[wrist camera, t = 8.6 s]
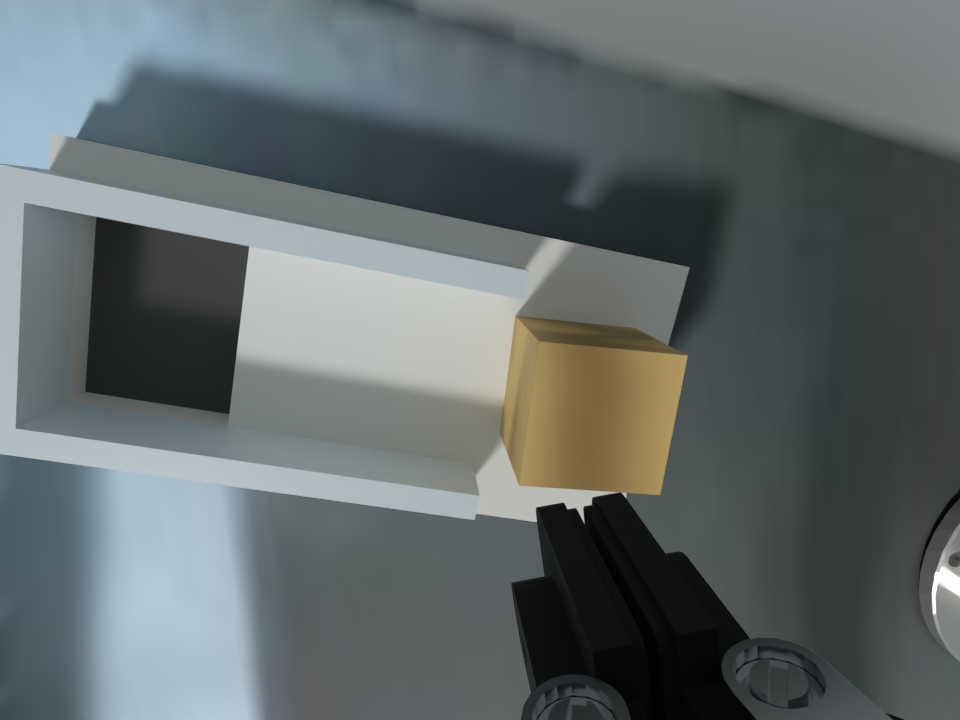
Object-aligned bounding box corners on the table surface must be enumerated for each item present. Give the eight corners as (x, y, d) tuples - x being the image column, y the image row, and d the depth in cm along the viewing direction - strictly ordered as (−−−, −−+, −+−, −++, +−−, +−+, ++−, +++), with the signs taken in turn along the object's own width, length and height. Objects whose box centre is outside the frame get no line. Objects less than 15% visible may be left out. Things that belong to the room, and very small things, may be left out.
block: (634, 327, 24) (687, 355, 20) (614, 442, 26) (659, 495, 21) (515, 315, 24) (539, 341, 19) (500, 433, 25) (519, 485, 20)
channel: (674, 264, 26) (726, 274, 21) (605, 516, 28) (639, 572, 24) (75, 138, 22) (-10, 119, 18) (58, 437, 25) (-19, 485, 20)
